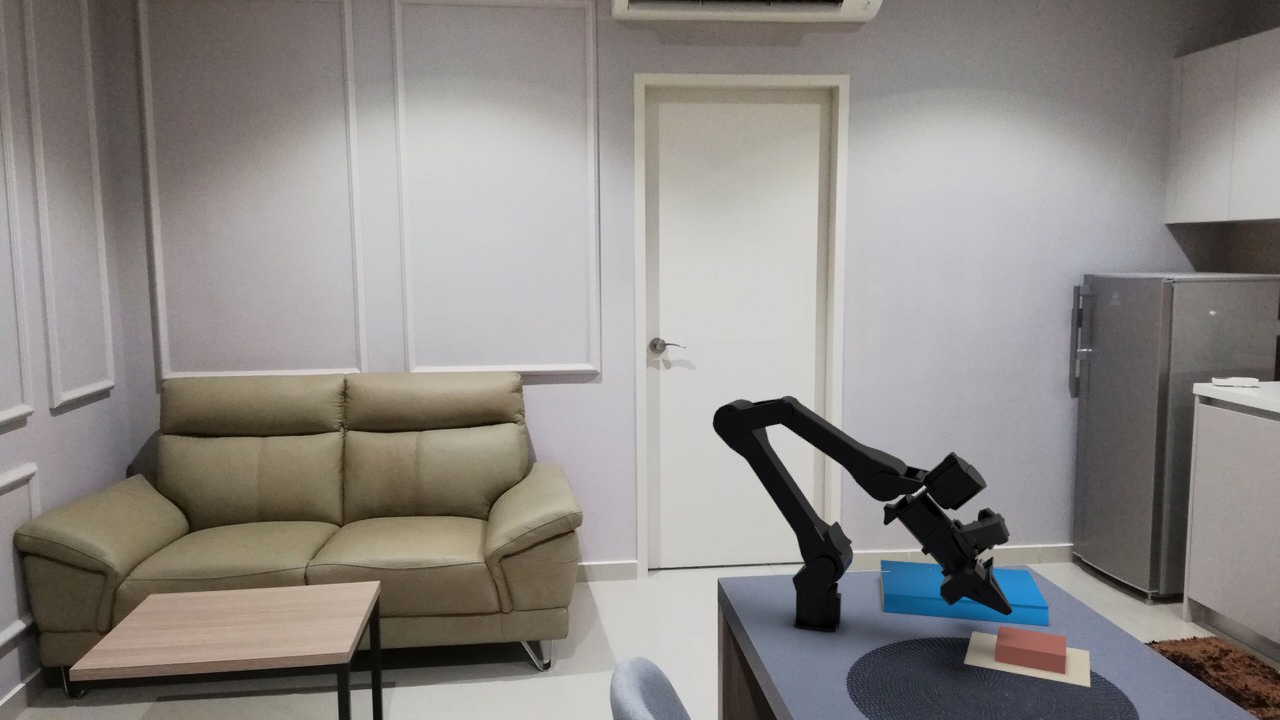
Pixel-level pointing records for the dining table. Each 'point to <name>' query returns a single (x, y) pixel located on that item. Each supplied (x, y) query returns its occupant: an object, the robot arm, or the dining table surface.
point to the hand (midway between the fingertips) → (1010, 613)
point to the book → (920, 594)
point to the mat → (984, 656)
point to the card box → (1031, 649)
